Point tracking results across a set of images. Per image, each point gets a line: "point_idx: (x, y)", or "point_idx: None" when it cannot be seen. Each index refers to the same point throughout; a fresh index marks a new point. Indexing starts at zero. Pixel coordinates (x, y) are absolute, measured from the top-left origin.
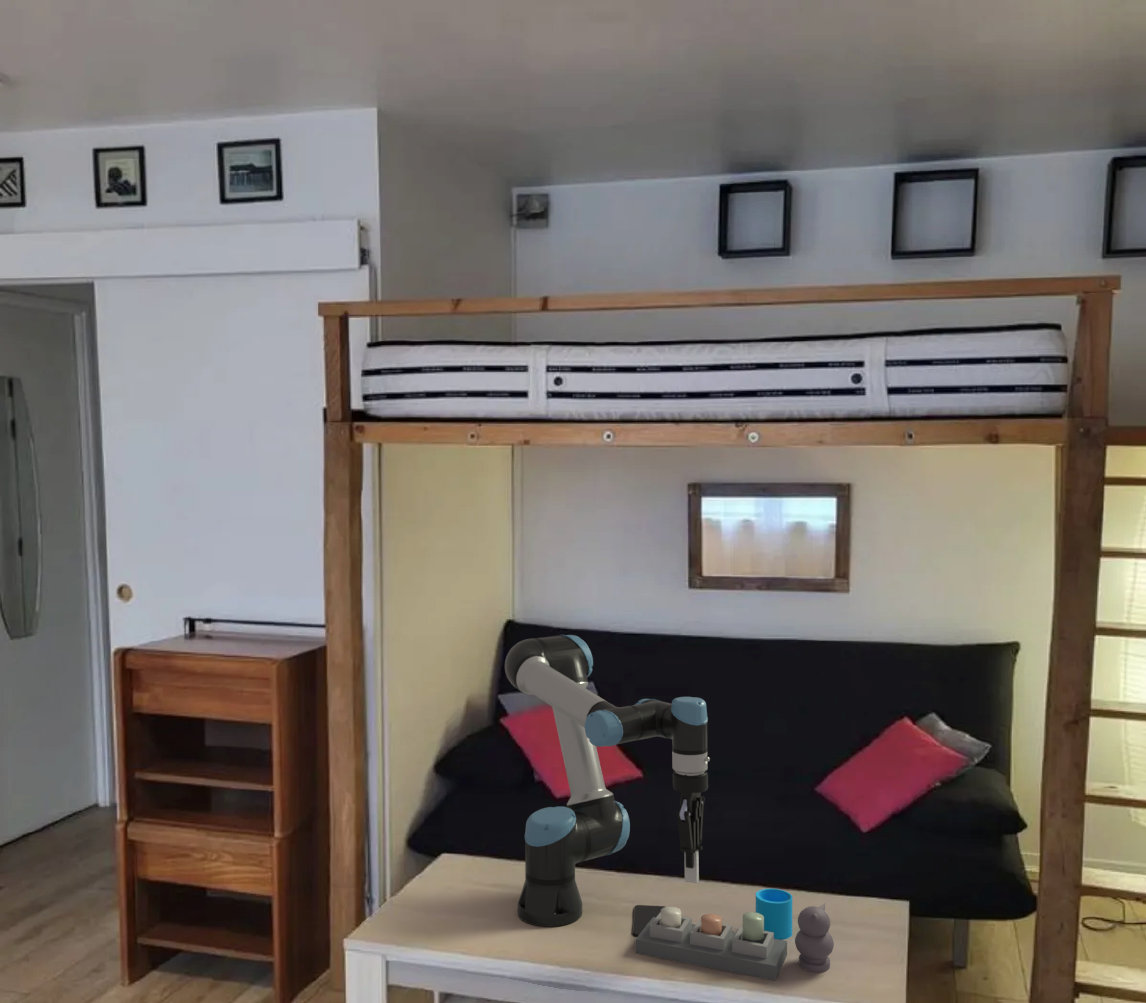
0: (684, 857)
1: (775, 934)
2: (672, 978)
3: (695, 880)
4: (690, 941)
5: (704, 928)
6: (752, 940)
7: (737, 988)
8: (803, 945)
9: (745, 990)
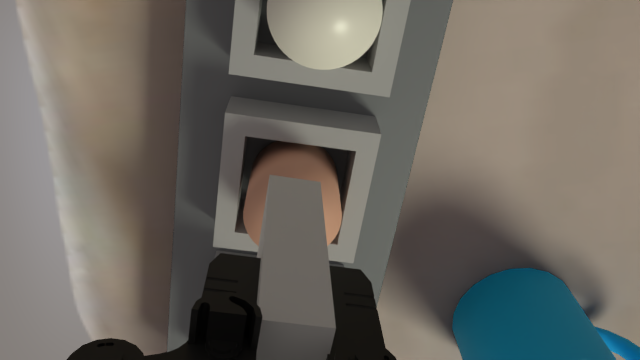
0: (261, 278)
1: (456, 338)
2: (50, 34)
3: (257, 255)
4: (229, 100)
5: (252, 177)
6: None
7: (81, 250)
8: None
9: (79, 272)
